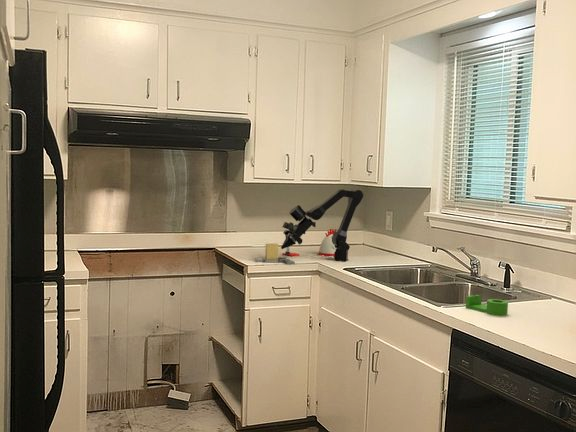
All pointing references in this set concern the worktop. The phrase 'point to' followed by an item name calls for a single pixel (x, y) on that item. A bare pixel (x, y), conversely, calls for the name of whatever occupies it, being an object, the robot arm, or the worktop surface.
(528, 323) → the worktop surface
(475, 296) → the green ring bracket
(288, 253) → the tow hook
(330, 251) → the kitchen timer
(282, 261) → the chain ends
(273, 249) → the yellow block
